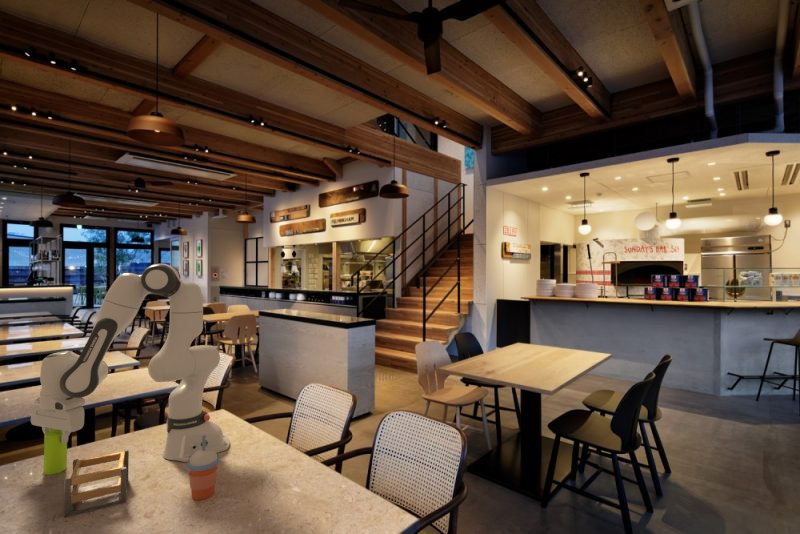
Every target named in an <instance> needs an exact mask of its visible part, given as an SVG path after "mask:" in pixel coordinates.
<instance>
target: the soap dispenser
mask: <svg viewBox="0 0 800 534" xmlns="http://www.w3.org/2000/svg"><path fill="white" fill-rule="evenodd" d="M50 425H51V424H50ZM43 434H44V433H43ZM62 435H63V433H62V430H57V429H52V427H50V431H48V432H46V433H45V434H44V439H43V474H44V475H46V476H49V475H56V474H59V473H61V472H64V471H65V470H67V463H68V462H67V461H68V455H67V454H68V441H67V442H65V443H61V442H60V437H62Z"/></svg>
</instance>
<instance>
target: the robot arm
mask: <svg viewBox="0 0 800 534" xmlns="http://www.w3.org/2000/svg"><path fill="white" fill-rule="evenodd" d="M148 294H152V295H158V296H162V297H165V298H168V299H169V324H168V325H169V326H168V327H169V328H168V334H167V337H166V340H165V342H164V344H163V345H162V347H161V348H160V350H159V351H158V352H157V353H156V354H154V356H152V357H151V359H150V361H149V363H148V365H147V367H148V368H147V372H148V374H149V376H150V378H151V379H152V380H153V381H154V382H156V383H169V382H175V381H179V380H181V381H180V383H178V385H177V386H176V388H174V389H173V390H172V391H171V392H170V394H169V397H168V415H167V416H166V417H167V419H166V432H167V436H166V442H165V446H164V450H163V453H162V457H163V458H164V459H166V460H169V461H170V460H171V461H179V462H183V463H187V462H188V461H189V460H190V458H191V457H192V455H193V454H194V453H195V452H196V451H198V450H200V449H202V436H204V435H205V436H206V439H205V448H209V449H212V450H214V451H215V452H216V454H218V453H221V452H225V451H226V450H229V449H228V448H230V440H229V438H228V437H227V436H226V435H224V432H223V430H222V428H221V427H220V425H218V424H217V423H215V422H213V421H211V420H210V419H211V415H210V414H209V413H208V412H207V411H206V410H205V409H203V393H204V389H205V387H206V386H205V385H206V384H207V381H208V379H209V377H210V375H211V374H212V373H213V372H214V370H215V369H216V368H217V367H218V366H219V365H220V360H221V356H220V352H219V350H218V349H217V347H215V345H207V344H204V345H202V344H201V345H195V346H191V344H192V342H193V341H194V340H195V339H196V338H198V336H200V334H202V332H203V329H204V303H203V301H204V300H203V294H202V289H201V287H200V286H199V285H198V284H197V283H195V282H193V281H183V280H181V275H180V272H179V270H178V269H177V268H176V267H174V266H172V265H170V264H168V263H167V264H166V263H157V264H151V265H150V266H148V267H146V268H145V269H144V270H143V272H142V273H141V274H138V273H137V274H136V273H133V272H132V273H131V272H126V273H122V274H120V275H118V276H117V278H116V279H115V280H114V281H113V282H112V284H111V286H110V287H109V289H108V290H107V292H106V294H105V296H104V299H103V300H102V303H101V305H100V308H99V310H98V314H97V316H96V319H95V323H94V326H93V328H92V331H91V333H90V335H89V337H88V340H87V342H85V345H84V347H83V349H82V350H81V353H80V355H79V354H77V353H75V352H73V351H72V350H62V351H58V352H54V353H51V354H49V355H47V356H45V358H43V359H42V362H41V366H40V374H39V376H40V377H39V380H40V385H41V389H40V391H39V396H38V397H37V398H36V399H35V400H34V404H33V405H32V408H31V415H30V423H31V425H33V426H36V427H41V430H42V433H43V434H45V433H46V432H48V431H50V427H52V429H57V430H62V433H63V435H62V437H60V442H61V443H65V442H67V443H68V442H69V436H70V435H71V433H73V432H77V431H79V430H81V429H83V427H84V425H85V408H84V407H83V406H85V403H86V401H85V400H86V399H85V397H88V396H90V395H91V394H92V393H93V392H94V391H95V390H96V389H97V388H98V386H99V385H100V384H102V382H103V381H104V380H105V379H107V377H108V375H109V369H110V368H109V366H108V364H107V362H106V361H104V357H105V356H106V354H107V352H108V350H109V347H110V346H111V344H112V343H113V341H114V340H116V338H117V337H118V336H119V334H121V333H122V332H124V330H125V329H127V328H128V327H129V326H130V324H131V323H132V322H133V321H134V319H135V318H136V315H137V314H138V312H139V310H140V307H141V306H142V304H143V301H144V299H145V298H146V297H147V296H148ZM50 424H51V425H50Z"/></svg>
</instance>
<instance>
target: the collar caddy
mask: <svg viewBox="0 0 800 534" xmlns="http://www.w3.org/2000/svg"><path fill="white" fill-rule="evenodd" d="M129 452H130V451H129V449H124V450H123V451H120V452H114V453H109V454H104V455H99V456H94V457H89V458H83V459H78V458H77V459H73V461H72V473H71V476H70V478H67V479H65V480H64V509H63V510H64V515H63V517H64V518H68V517H71V516H77V515H79V514H83V513H87V512H92V511H95V510H100V509H103V508H107V507H112V506H116V505H119V504H124V503H126V502H127V494H128V493H127V492H128V485H129V466H130V465H129V459H130V456H129V455H130V453H129ZM116 461H119V463H118V466H117V467H113V468H108V469H104V470H99V471H93V472H89V473H85V474H80V470H81V468H87V467H91V466H95V465H96V466H97V465H100V464H105V463H110V462H116ZM79 474H80V475H79ZM113 477H118V478H117V479H114V480H113V479H112V480H107V481H104V482H99V483H95V484H94V483H93V484H90V485H85V486H82V487H81V484H82V485H83V484H87V483H91V482H96V481H100V480H104V479H110V478H113Z"/></svg>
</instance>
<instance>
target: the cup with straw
mask: <svg viewBox="0 0 800 534" xmlns="http://www.w3.org/2000/svg"><path fill="white" fill-rule="evenodd" d="M205 439H206V436H205V435H204V436H202V449H200V450H198V451H196V452H195V453H194V454H193V455H192V457H191V458H190V460H189V461H188V462H186V468H187V470H189V472H188V477H189V479H188V480H189V487H190V491H191V493H190V494H191V498H192V499H193V500H196V501H200V500H206V499H208V498H210V497H212V496H213V495H214V493H215V487H216V483H217V476H218V475H217V474H218V465H219V464H220V459H221V458H220V456H219V455H218V453H216V452H215V451H214V450H212V449H209V448H205Z"/></svg>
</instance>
